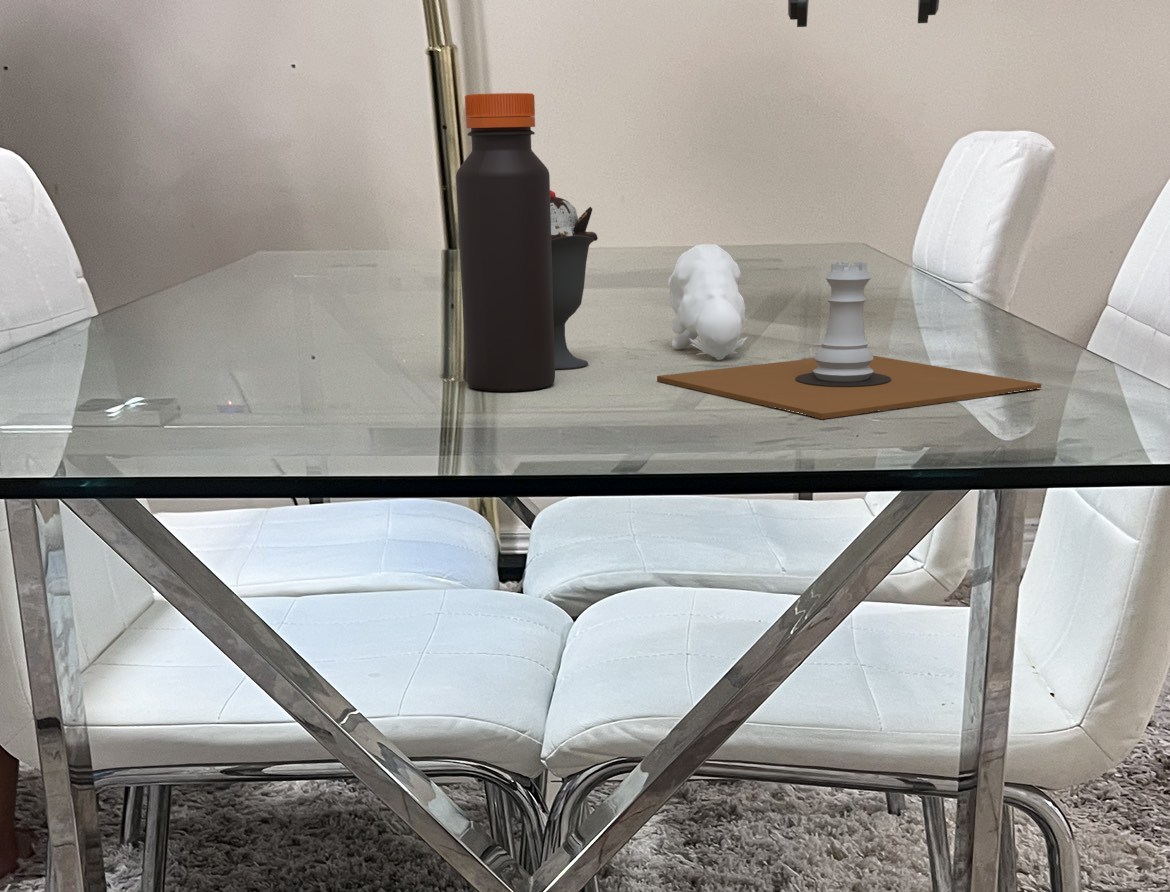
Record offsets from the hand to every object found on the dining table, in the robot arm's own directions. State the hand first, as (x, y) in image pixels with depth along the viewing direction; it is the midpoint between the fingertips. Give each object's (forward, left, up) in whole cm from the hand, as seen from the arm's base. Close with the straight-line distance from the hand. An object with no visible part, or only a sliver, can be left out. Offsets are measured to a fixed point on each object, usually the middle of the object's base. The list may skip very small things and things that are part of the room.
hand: (862, 15), depth 100 cm
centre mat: (-5, +4, -25) cm, 26 cm away
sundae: (+17, +16, -25) cm, 34 cm away
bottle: (+10, +24, -25) cm, 36 cm away
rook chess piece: (-5, +4, -24) cm, 25 cm away
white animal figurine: (+15, +2, -25) cm, 29 cm away
